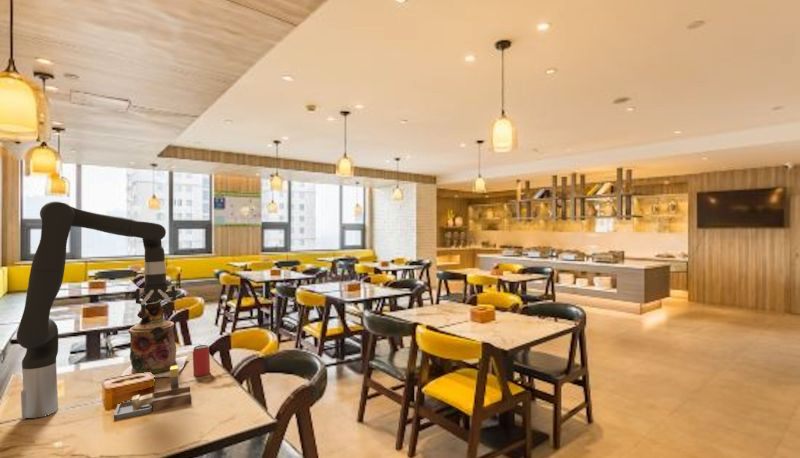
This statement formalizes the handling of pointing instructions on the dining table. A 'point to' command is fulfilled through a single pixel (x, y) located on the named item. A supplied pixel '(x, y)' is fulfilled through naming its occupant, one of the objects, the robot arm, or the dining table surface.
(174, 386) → the scraper
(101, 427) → the dining table surface
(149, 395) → the chip
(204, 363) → the beer can
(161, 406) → the slot block
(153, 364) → the cookie jar
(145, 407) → the tray
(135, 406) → the chip
